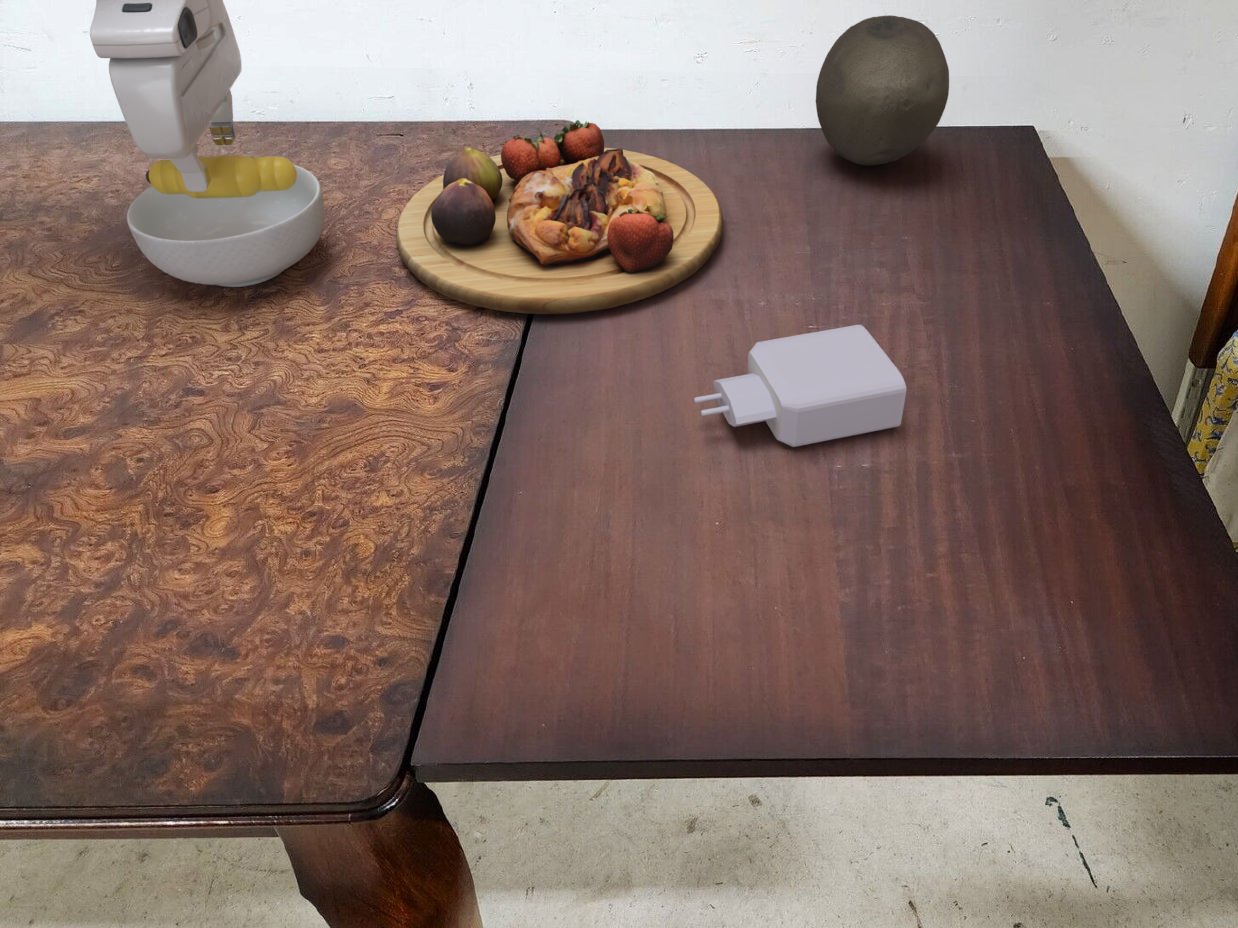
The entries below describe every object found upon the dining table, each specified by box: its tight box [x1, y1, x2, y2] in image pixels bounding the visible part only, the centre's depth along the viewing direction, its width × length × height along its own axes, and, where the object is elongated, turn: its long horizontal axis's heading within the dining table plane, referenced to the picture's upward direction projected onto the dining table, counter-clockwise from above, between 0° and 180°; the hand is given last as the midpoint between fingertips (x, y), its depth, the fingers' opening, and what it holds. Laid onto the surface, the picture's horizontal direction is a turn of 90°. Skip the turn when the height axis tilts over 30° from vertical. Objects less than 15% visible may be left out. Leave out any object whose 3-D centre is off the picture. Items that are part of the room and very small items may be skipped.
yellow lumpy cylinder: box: [145, 154, 297, 199], centre depth 98 cm, size 13×4×4 cm, turn 94°
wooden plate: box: [395, 119, 724, 315], centre depth 105 cm, size 32×32×8 cm
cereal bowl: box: [126, 164, 326, 288], centre depth 101 cm, size 17×17×7 cm
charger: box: [693, 324, 907, 448], centre depth 84 cm, size 5×9×15 cm
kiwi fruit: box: [815, 14, 950, 166], centre depth 114 cm, size 14×14×15 cm
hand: (213, 164), depth 96 cm, fingers open, 8 cm apart
